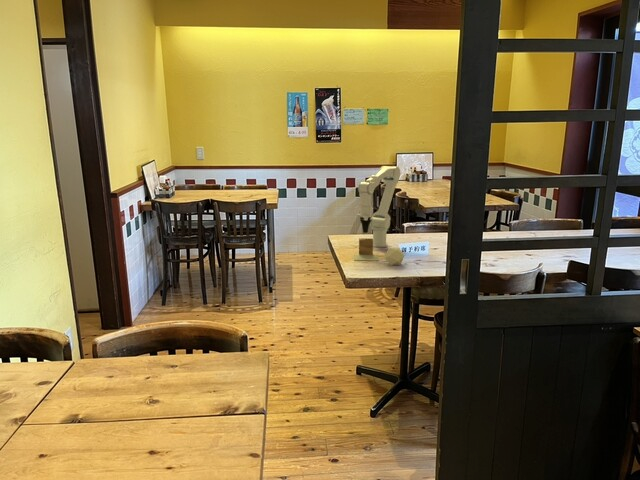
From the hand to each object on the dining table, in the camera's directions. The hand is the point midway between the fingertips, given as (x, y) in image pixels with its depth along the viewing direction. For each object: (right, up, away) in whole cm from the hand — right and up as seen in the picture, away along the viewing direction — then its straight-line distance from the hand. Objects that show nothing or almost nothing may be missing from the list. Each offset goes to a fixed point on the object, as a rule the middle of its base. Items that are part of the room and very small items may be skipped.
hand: (365, 231), depth 242 cm
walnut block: (0, -12, -4) cm, 12 cm away
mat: (-1, -13, -11) cm, 17 cm away
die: (+12, -16, -21) cm, 29 cm away
